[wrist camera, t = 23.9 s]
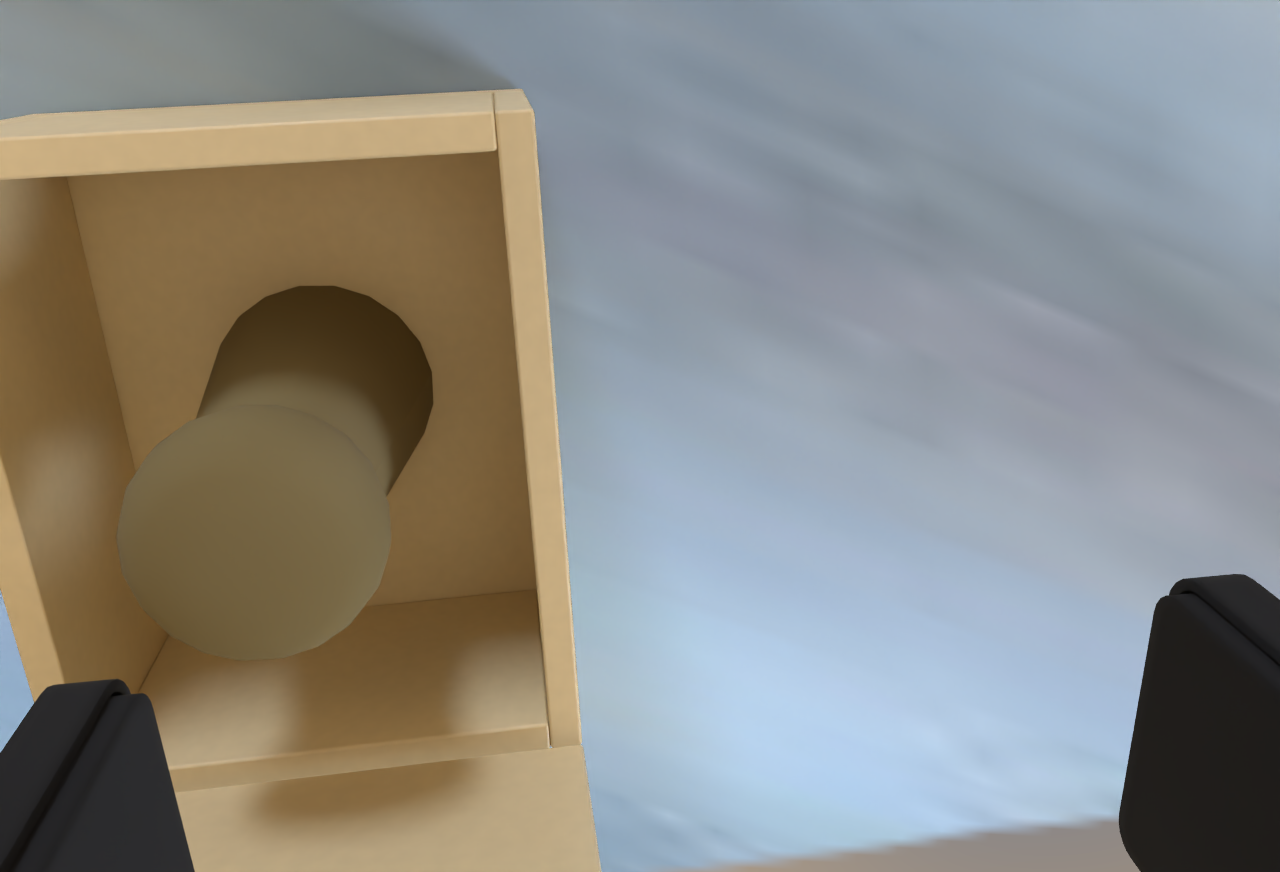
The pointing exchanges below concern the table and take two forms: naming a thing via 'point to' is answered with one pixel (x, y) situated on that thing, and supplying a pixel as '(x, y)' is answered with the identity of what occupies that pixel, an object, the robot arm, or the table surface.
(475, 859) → the lid
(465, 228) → the chest
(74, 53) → the table surface
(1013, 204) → the table surface
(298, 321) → the cork
